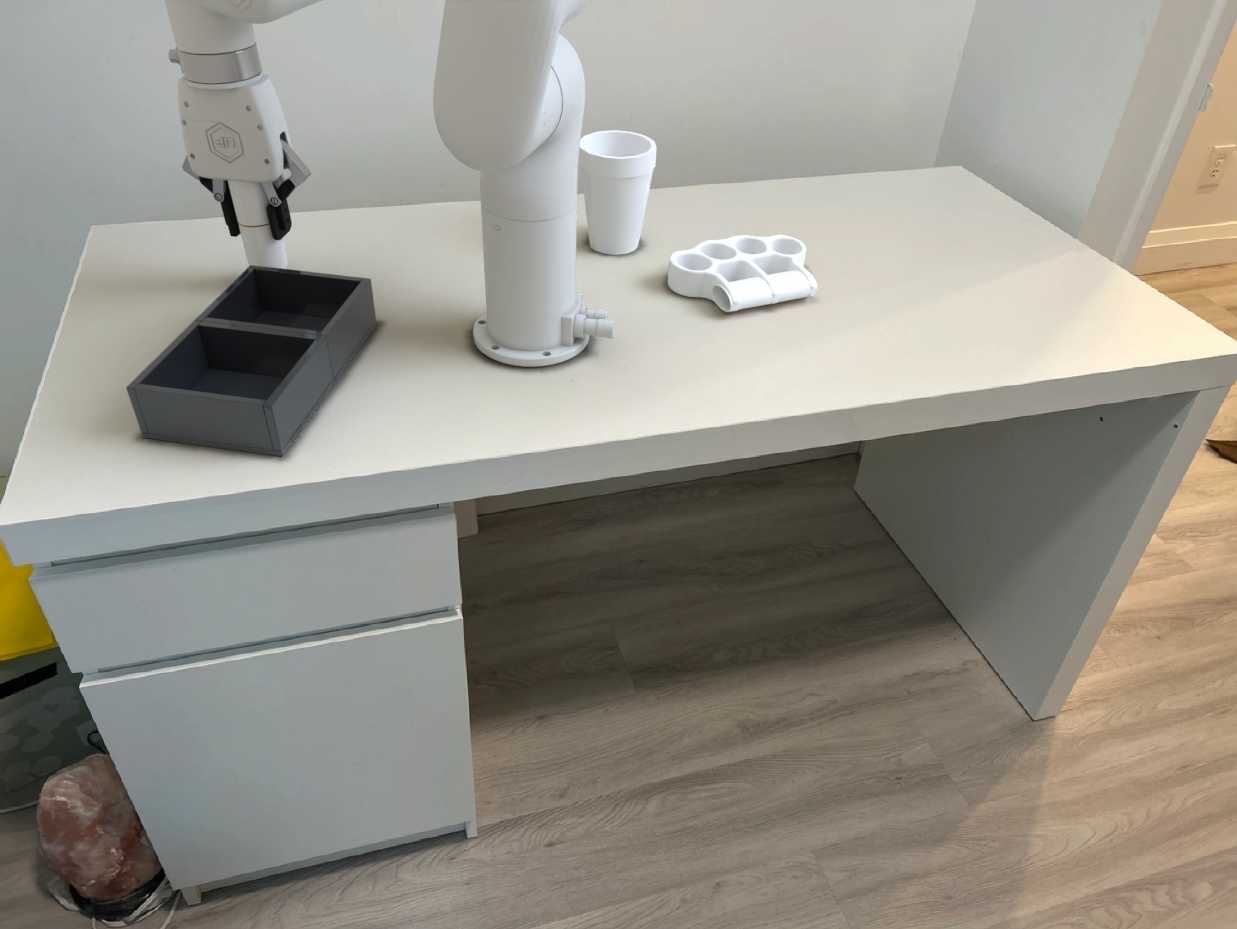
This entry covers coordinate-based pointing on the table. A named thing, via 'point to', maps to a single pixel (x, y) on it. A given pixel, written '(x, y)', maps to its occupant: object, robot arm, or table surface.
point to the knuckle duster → (743, 271)
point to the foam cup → (616, 187)
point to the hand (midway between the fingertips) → (260, 231)
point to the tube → (256, 225)
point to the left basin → (233, 387)
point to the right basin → (301, 307)
